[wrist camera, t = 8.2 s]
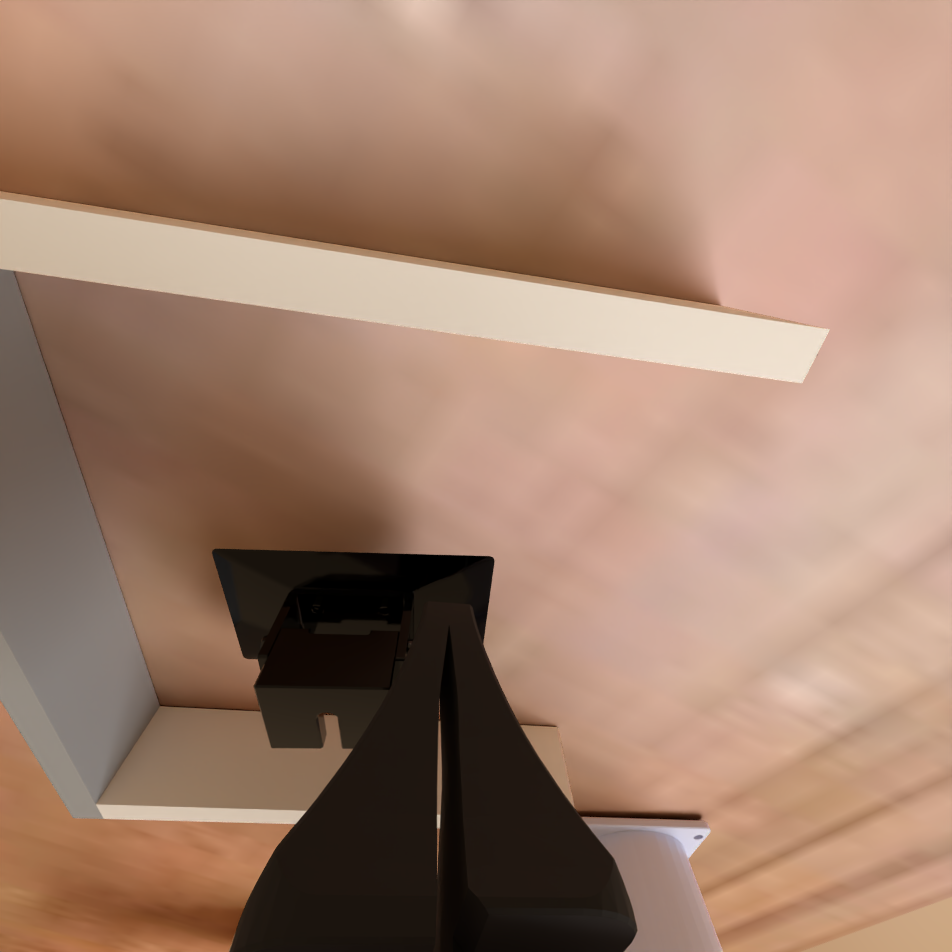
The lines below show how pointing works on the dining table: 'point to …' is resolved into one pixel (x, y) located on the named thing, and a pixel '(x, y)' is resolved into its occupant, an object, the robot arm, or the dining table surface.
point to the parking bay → (80, 539)
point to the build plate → (336, 629)
